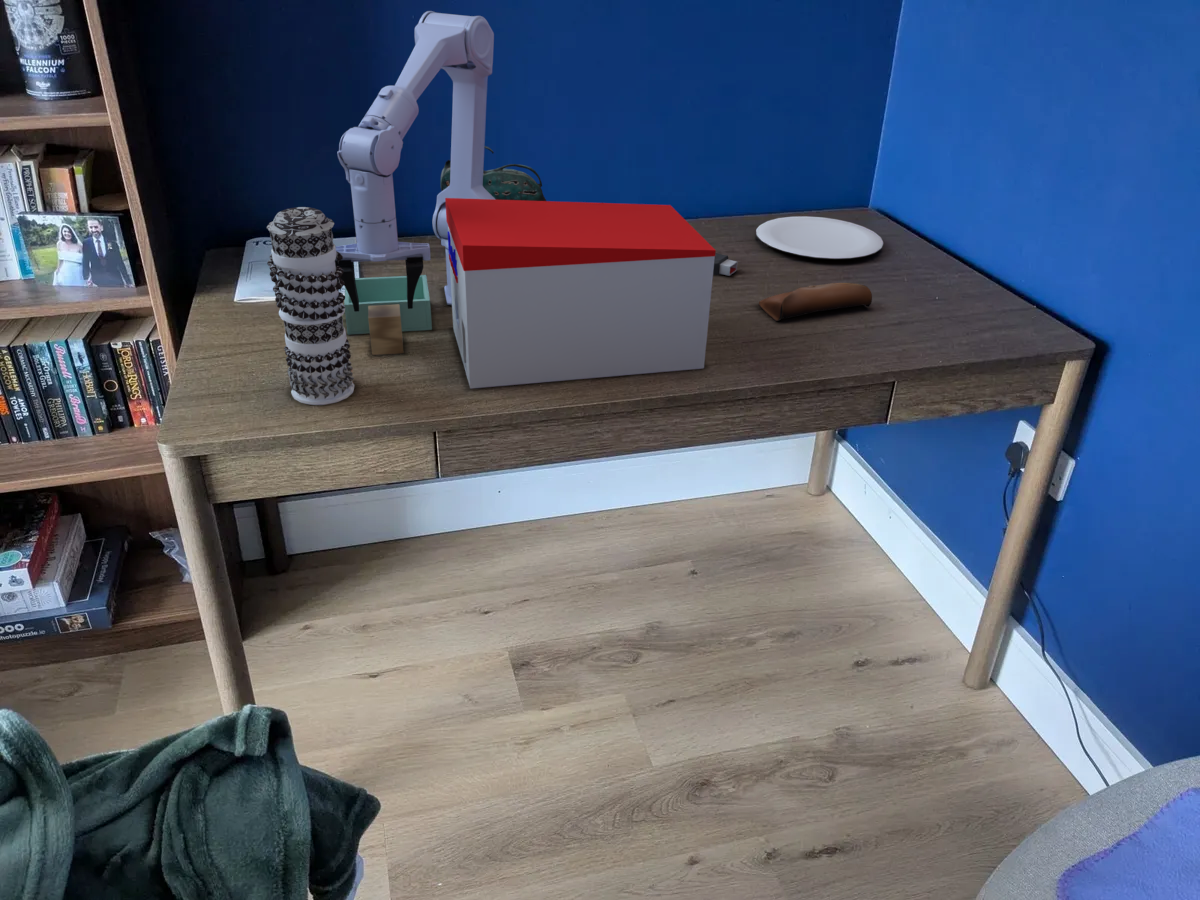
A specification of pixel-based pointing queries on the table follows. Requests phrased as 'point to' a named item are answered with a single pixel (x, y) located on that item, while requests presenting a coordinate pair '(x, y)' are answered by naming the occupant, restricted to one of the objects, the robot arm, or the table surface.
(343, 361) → the decorative candle
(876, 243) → the plate
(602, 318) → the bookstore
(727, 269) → the usb drive
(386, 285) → the desk bin
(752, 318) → the table surface
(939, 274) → the table surface
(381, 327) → the beech block
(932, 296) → the table surface
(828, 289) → the sunglasses case
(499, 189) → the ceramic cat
